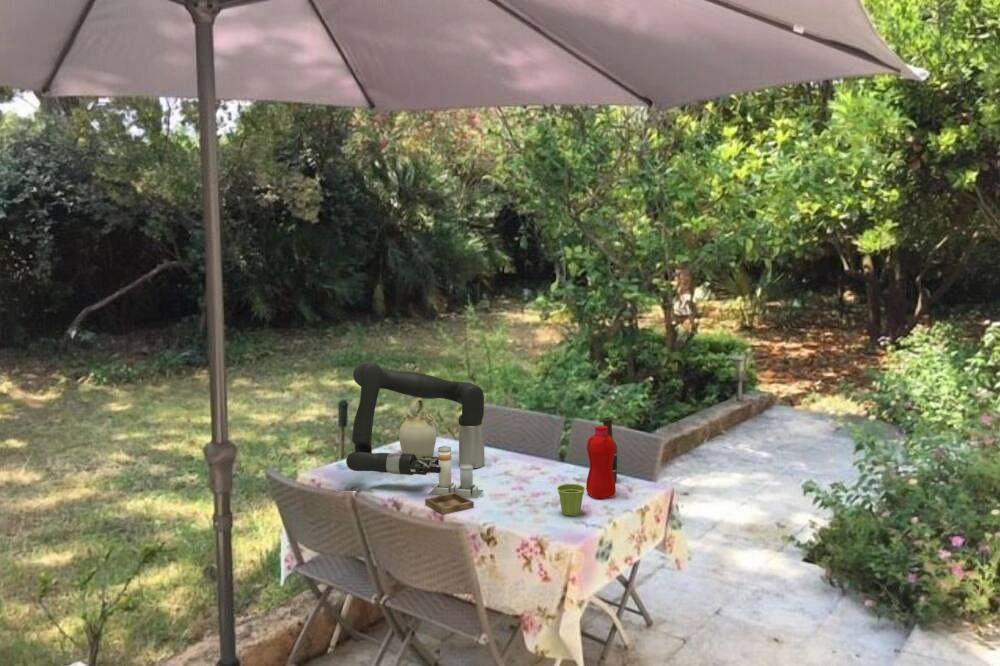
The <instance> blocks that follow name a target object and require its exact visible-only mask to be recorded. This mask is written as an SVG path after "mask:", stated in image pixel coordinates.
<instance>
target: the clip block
mask: <svg viewBox="0 0 1000 666" xmlns="http://www.w3.org/2000/svg"><path fill="white" fill-rule="evenodd" d="M450 491H451V492H450V493H455V492H456V493H458V494H460V495H462V496H464V497H465V498H467V499H478V498H479V497H480V495H481V494H482V493H483V491H484V489H479V486H478V485H476V484H475V483H473V489H472V494H471V490H466V489H460V484H458V485H457V484H455V482H451V488H450ZM450 493H449V488H439V482H438V483H437V482H436V484H435V485H434V486H433V489H432V490H431V491H430V492H429V493H428V494H427V495H428V496H441V495H445V494H450Z"/></svg>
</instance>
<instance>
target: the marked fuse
mask: <svg viewBox="0 0 1000 666" xmlns="http://www.w3.org/2000/svg"><path fill="white" fill-rule="evenodd" d="M437 450H438V451H437V452H438V453H437V457H438V460H439V466H438V467H441V472H440V473H438V483H439V488H449V493H450V492H451V491H450V488H451V483H452V447H451V446H447V445H445V446H444V445H442V446H439V447H437Z"/></svg>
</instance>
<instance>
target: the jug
mask: <svg viewBox="0 0 1000 666" xmlns="http://www.w3.org/2000/svg"><path fill="white" fill-rule="evenodd" d="M424 403H425V402H424V400H423V398H419V397H414V398H413V400H412V402H411V403H410V408H409V409H410V411H409V412H410V414H411V415H412V416H410V414H408V413H407V412H403V417H402V418H403V420H404V422H403V423H402V424H401V426H400V428H399V430H398V431H399V432H398V439H399V445H400V449H401V453H406V454H414V455H415V456H416V458H417V459H420V458H422V457H423V456H430V457H434V455H433V454H434V451H435V447H436V443H437V441H436V440H437V429H436V426H435V425H434V423H433V421H434V420H435V417H434V416H433V415H432V414H430V413H426V414H425V417H424V416H422V414H423V412H424V407H425V404H424ZM417 405H418V408H417Z"/></svg>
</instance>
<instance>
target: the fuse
mask: <svg viewBox="0 0 1000 666" xmlns="http://www.w3.org/2000/svg"><path fill="white" fill-rule="evenodd" d="M473 470H474V469H473V465H471V464H462V465H460V466H459V477H460V478H459V483H460V484H459V485H460V489H466V490H471V494H472V489H473V484H474V483H473V482H474V481H473V480H474V479H473V476H474V475H473Z"/></svg>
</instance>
